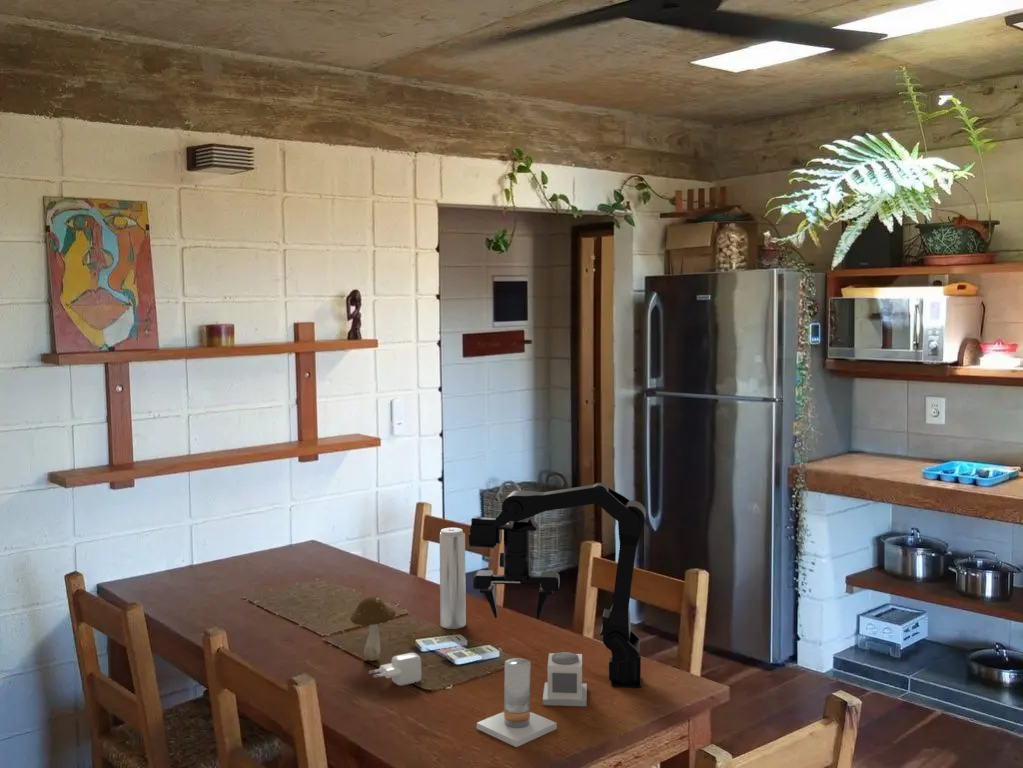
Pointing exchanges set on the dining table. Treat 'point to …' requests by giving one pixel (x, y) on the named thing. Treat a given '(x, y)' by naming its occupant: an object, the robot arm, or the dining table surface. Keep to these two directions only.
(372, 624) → the mushroom
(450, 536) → the white tall cylinder
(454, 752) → the dining table surface
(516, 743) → the grey flat square slab
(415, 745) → the dining table surface
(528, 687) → the cartridge
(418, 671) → the power adapter
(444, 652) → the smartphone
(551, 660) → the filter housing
